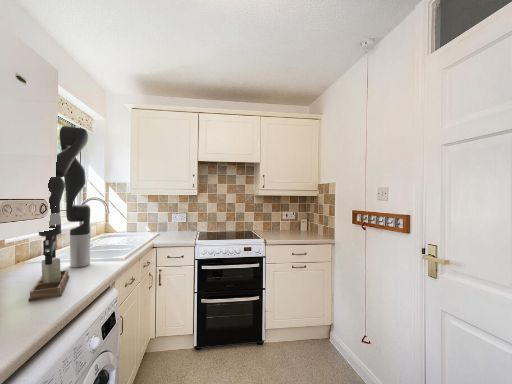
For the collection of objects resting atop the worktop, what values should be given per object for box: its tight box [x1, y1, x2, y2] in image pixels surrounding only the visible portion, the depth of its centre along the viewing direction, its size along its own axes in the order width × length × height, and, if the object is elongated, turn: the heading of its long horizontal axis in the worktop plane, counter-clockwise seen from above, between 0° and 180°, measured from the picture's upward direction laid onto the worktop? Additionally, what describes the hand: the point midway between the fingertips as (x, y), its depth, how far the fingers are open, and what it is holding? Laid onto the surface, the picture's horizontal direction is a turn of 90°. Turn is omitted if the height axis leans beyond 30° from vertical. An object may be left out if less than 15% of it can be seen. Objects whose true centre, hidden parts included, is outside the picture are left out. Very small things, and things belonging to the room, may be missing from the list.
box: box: [41, 257, 62, 283], centre depth 113 cm, size 5×4×11 cm
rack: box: [28, 269, 70, 302], centre depth 113 cm, size 26×10×4 cm, turn 29°
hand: (50, 261), depth 113 cm, fingers open, 8 cm apart
